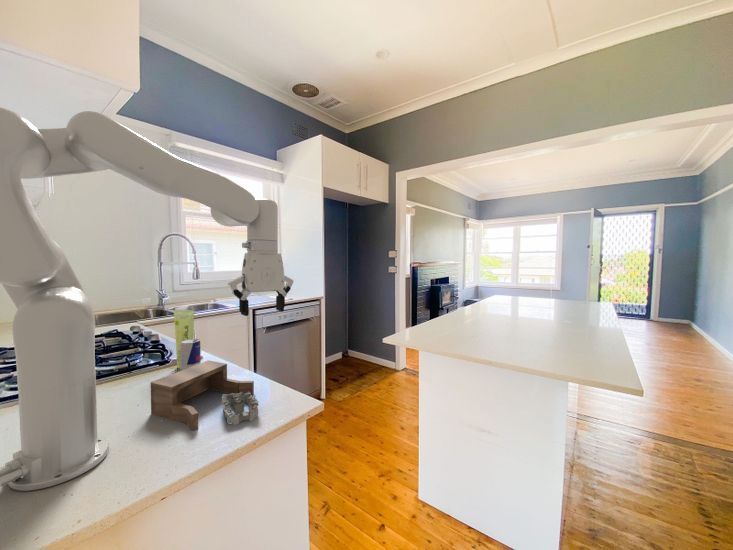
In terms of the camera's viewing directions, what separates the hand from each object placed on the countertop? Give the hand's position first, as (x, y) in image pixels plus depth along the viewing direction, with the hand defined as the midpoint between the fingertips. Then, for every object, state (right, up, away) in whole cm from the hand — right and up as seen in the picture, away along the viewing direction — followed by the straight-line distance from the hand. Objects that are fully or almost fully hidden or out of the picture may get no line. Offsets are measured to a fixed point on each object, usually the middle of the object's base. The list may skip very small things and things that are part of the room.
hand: (263, 312), depth 79 cm
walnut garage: (-14, -23, -2) cm, 27 cm away
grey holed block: (-4, -24, -6) cm, 25 cm away
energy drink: (-27, -22, +13) cm, 37 cm away
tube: (-35, -21, +23) cm, 47 cm away
